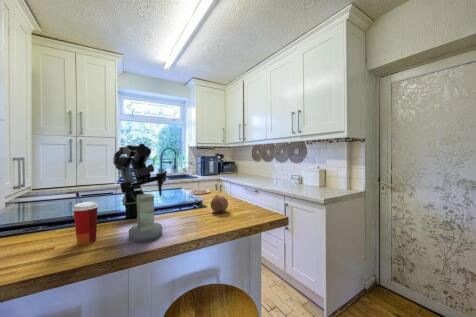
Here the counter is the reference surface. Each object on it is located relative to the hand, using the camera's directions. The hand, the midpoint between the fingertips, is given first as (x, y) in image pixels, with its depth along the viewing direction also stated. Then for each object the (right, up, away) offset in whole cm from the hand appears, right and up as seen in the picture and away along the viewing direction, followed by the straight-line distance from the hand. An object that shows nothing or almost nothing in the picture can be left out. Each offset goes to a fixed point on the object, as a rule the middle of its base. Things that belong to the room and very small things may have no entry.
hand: (150, 199), depth 90 cm
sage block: (+2, -10, -8) cm, 13 cm away
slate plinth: (+2, -13, -8) cm, 15 cm away
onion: (+28, -11, +22) cm, 37 cm away
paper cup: (-18, -13, -13) cm, 26 cm away
